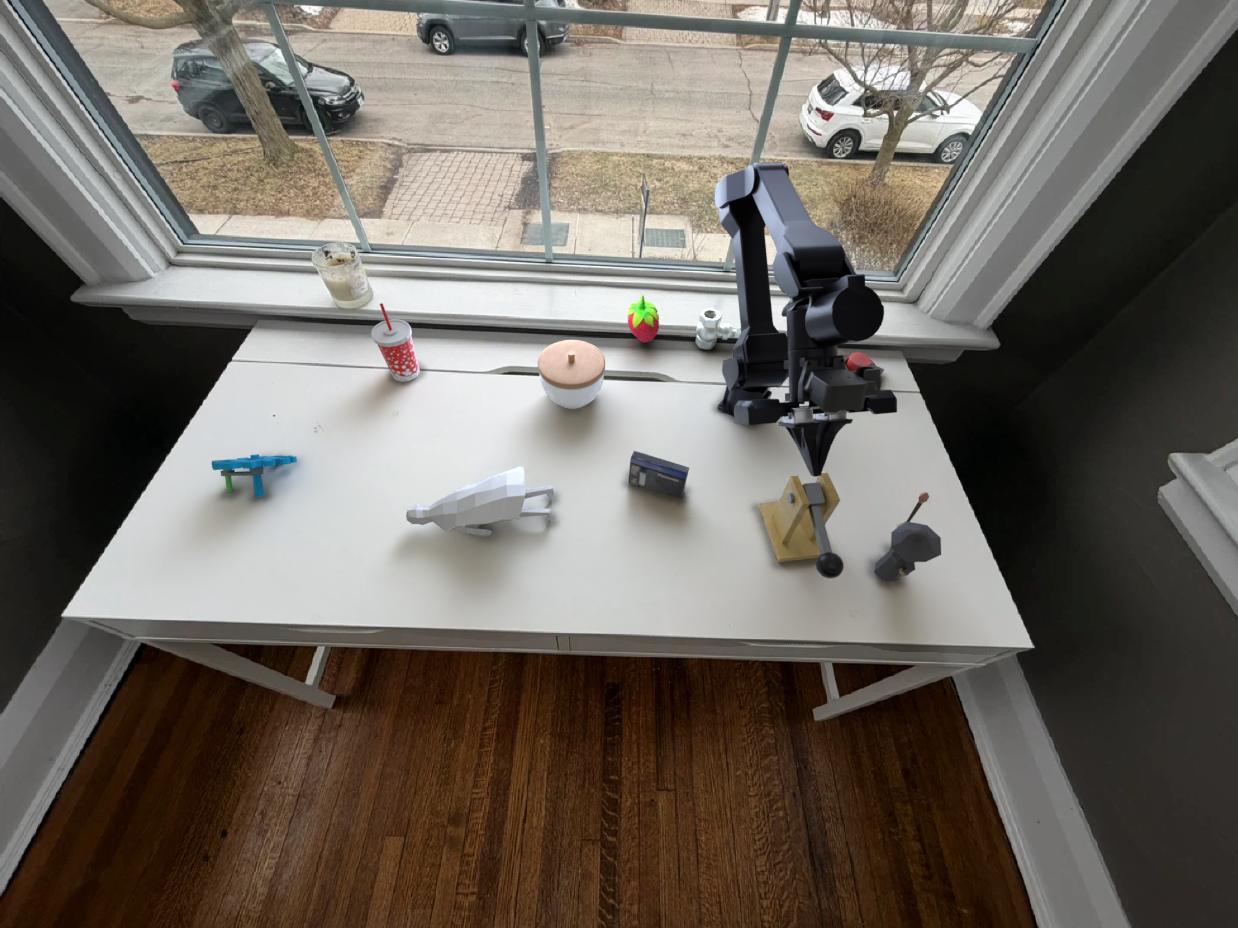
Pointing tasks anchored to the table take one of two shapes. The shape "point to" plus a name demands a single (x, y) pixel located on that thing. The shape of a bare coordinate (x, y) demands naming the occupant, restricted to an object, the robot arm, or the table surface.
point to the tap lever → (822, 534)
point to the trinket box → (571, 372)
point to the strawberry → (643, 320)
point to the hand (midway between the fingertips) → (815, 476)
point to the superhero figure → (482, 504)
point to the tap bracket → (796, 520)
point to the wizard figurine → (909, 547)
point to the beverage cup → (396, 347)
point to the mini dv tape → (657, 474)
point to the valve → (713, 329)
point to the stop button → (857, 361)
